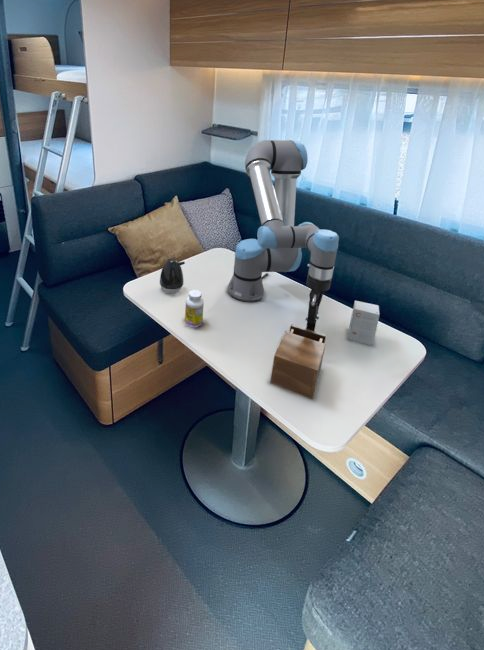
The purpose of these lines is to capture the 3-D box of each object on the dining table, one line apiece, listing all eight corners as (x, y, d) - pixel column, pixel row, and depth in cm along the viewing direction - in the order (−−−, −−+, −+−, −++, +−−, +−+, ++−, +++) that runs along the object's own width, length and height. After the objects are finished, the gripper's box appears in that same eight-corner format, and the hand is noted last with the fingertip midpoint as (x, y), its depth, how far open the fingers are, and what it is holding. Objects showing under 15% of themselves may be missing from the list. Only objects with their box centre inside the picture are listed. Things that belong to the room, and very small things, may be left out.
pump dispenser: (181, 298, 170) (182, 265, 164) (157, 295, 171) (157, 262, 166) (185, 285, 179) (186, 254, 174) (162, 282, 181) (163, 252, 175)
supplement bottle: (181, 320, 155) (182, 290, 151) (196, 315, 158) (198, 286, 154) (190, 330, 150) (192, 300, 145) (205, 325, 153) (207, 295, 148)
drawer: (290, 338, 145) (293, 317, 142) (324, 349, 140) (328, 327, 137) (278, 366, 132) (282, 344, 128) (315, 380, 127) (319, 357, 123)
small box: (372, 335, 149) (379, 305, 145) (372, 346, 144) (380, 314, 139) (348, 329, 152) (354, 299, 148) (347, 339, 147) (354, 308, 142)
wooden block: (281, 357, 137) (285, 331, 134) (320, 370, 132) (325, 343, 128) (270, 383, 126) (274, 355, 122) (312, 399, 120) (317, 370, 117)
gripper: (311, 265, 142) (302, 322, 150) (304, 281, 131) (294, 342, 139) (334, 270, 139) (323, 328, 147) (328, 287, 128) (317, 349, 136)
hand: (309, 335), depth 143 cm, fingers closed
